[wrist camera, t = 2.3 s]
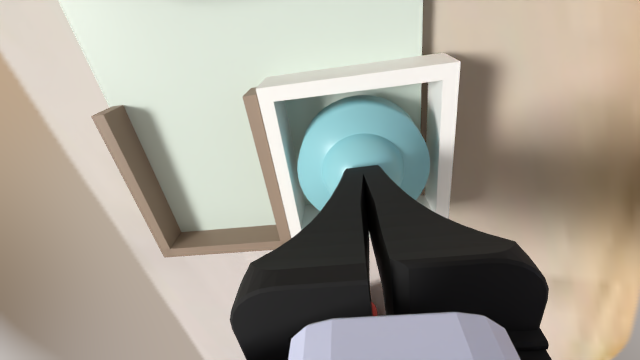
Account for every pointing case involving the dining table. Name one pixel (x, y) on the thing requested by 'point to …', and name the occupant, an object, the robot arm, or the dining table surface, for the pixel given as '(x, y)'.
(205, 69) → the pale green flat board
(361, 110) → the dome
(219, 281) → the dining table surface
